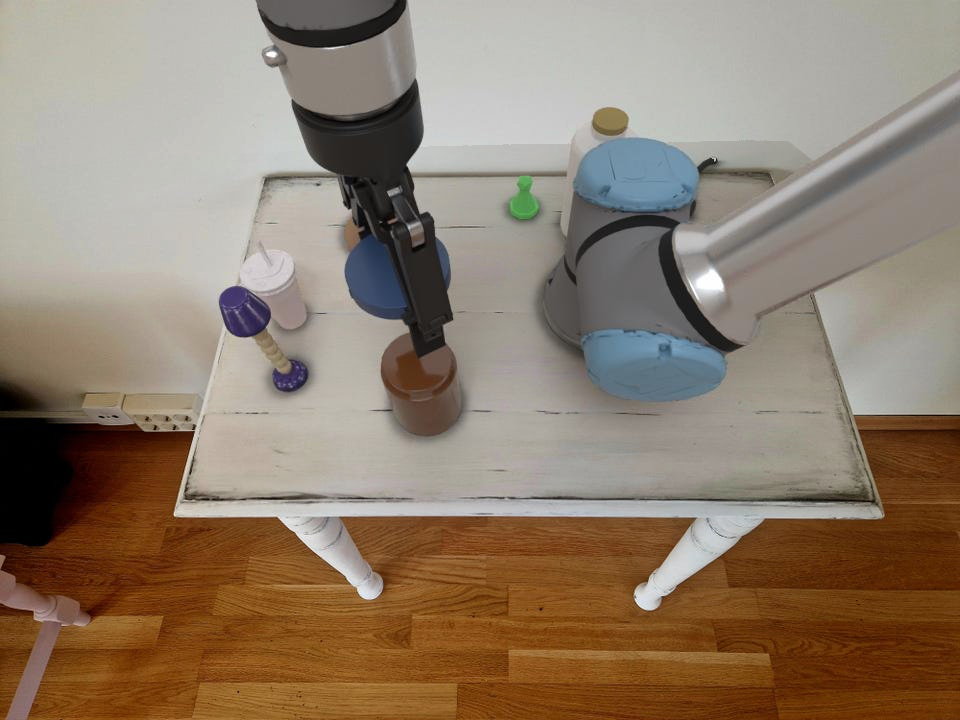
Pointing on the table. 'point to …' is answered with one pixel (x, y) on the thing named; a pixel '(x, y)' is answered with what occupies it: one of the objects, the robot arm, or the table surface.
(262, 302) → the toy lamp
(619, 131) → the potion bottle
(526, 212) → the game piece
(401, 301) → the jar lid
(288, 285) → the smoothie
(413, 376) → the jar
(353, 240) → the coaster
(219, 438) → the table surface
